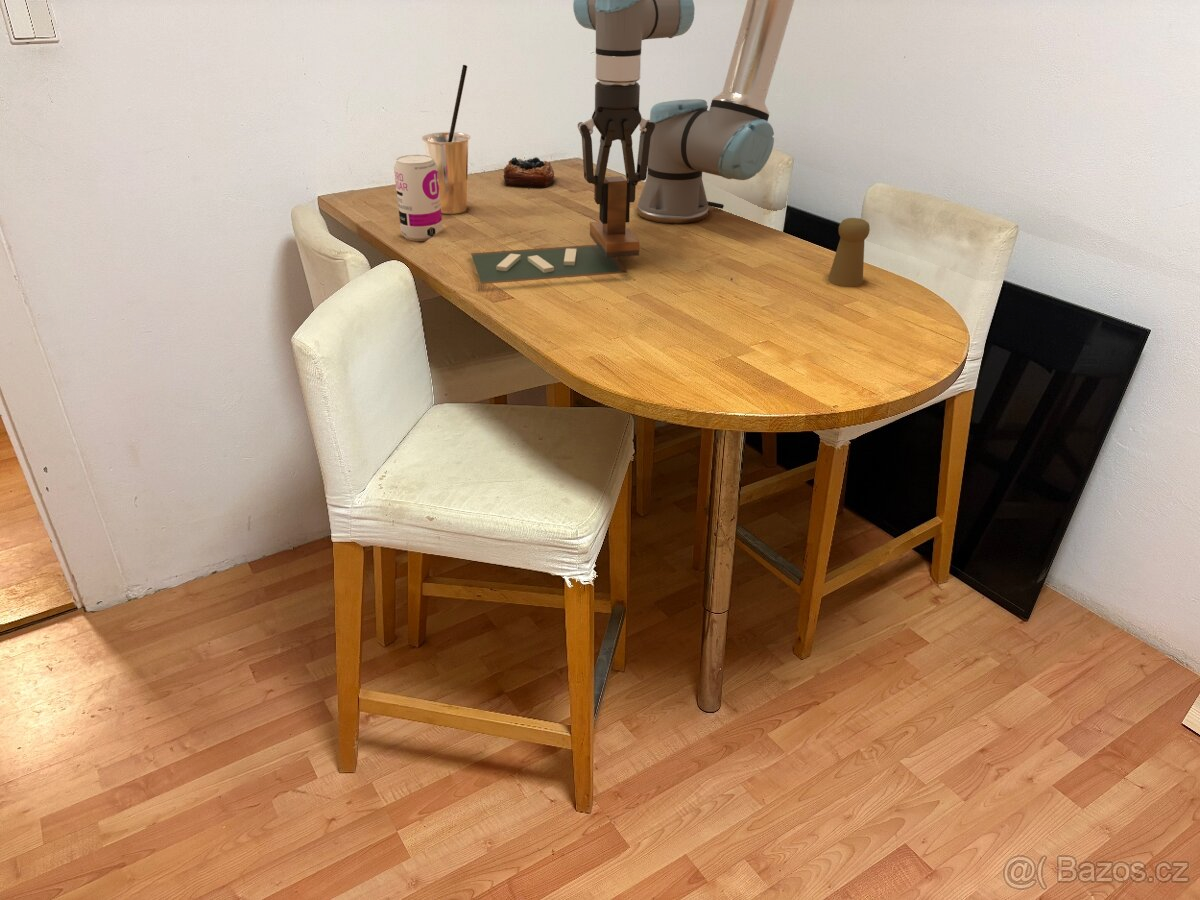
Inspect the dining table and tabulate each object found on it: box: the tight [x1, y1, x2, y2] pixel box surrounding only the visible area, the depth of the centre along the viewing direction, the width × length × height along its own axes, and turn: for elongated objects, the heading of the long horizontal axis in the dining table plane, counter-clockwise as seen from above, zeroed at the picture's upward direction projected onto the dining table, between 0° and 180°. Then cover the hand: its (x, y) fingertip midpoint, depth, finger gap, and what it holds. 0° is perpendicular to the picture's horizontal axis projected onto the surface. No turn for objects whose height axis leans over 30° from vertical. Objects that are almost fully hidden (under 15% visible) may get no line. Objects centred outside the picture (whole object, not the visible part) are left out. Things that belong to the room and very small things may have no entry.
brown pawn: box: [827, 217, 871, 288], centre depth 152 cm, size 6×6×11 cm
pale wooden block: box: [564, 249, 577, 266], centre depth 159 cm, size 7×2×1 cm, turn 179°
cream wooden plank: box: [528, 255, 554, 273], centre depth 156 cm, size 7×2×1 cm, turn 29°
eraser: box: [589, 175, 641, 258], centre depth 155 cm, size 6×13×12 cm, turn 14°
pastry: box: [503, 156, 555, 189], centre depth 207 cm, size 11×12×6 cm
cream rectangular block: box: [496, 254, 521, 271], centre depth 156 cm, size 7×2×1 cm, turn 164°
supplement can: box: [393, 154, 444, 242], centre depth 169 cm, size 8×8×15 cm
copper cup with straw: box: [421, 64, 471, 215], centre depth 180 cm, size 11×11×30 cm
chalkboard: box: [470, 244, 628, 285], centre depth 158 cm, size 26×16×1 cm, turn 104°
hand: (614, 220), depth 156 cm, fingers closed on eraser, 3 cm apart
